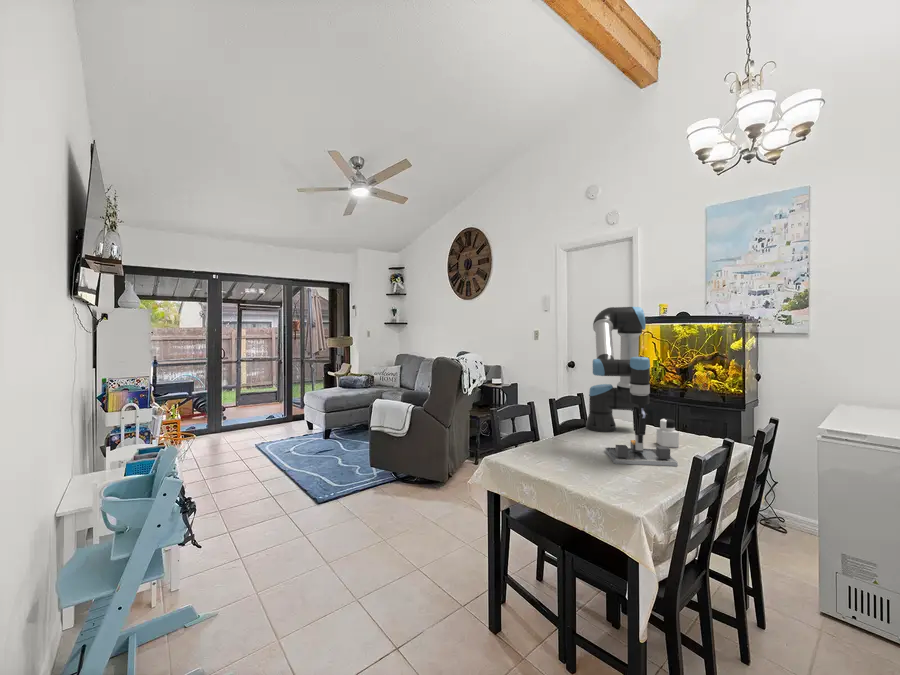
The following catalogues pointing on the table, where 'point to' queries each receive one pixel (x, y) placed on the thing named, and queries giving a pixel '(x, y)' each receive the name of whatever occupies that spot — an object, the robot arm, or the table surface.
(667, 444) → the medicine bottle
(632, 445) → the block
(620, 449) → the breaker
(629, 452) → the panel
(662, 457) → the block
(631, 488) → the table surface
